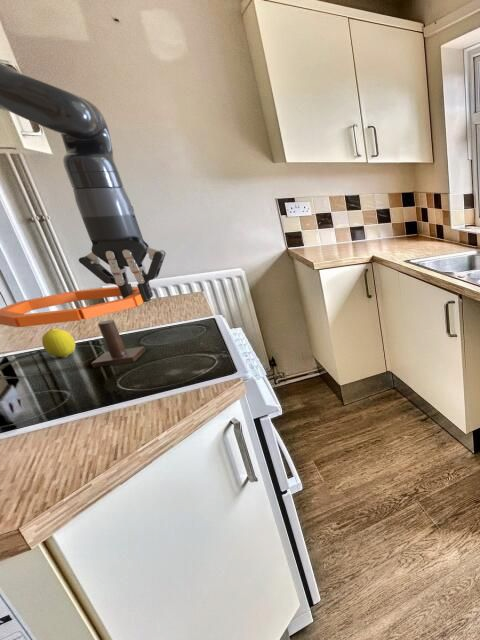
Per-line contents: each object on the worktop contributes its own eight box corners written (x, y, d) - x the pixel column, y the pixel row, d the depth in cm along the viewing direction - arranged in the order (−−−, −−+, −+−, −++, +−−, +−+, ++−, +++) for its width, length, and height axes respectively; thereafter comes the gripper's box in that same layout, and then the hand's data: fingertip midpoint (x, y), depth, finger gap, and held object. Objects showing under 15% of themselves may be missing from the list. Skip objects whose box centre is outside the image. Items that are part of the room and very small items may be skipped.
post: (93, 368, 101) (76, 329, 97) (107, 357, 107) (92, 319, 104) (134, 362, 103) (119, 324, 100) (146, 351, 110) (132, 315, 107)
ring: (-32, 333, 70) (-37, 323, 69) (39, 303, 87) (36, 294, 87) (125, 314, 77) (122, 305, 76) (161, 290, 95) (158, 282, 94)
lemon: (65, 362, 105) (52, 332, 102) (43, 362, 105) (29, 332, 102) (86, 353, 110) (74, 324, 107) (65, 354, 110) (52, 325, 107)
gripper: (49, 217, 74) (88, 311, 80) (145, 212, 79) (175, 301, 85) (70, 214, 80) (105, 302, 86) (158, 210, 85) (185, 293, 91)
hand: (140, 301), depth 86 cm, fingers closed on ring, 2 cm apart
